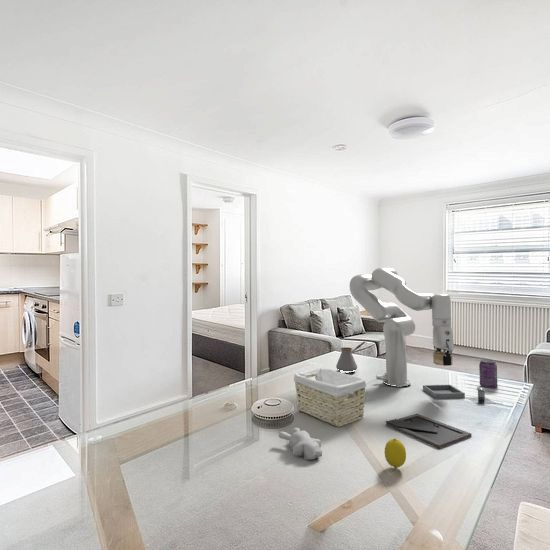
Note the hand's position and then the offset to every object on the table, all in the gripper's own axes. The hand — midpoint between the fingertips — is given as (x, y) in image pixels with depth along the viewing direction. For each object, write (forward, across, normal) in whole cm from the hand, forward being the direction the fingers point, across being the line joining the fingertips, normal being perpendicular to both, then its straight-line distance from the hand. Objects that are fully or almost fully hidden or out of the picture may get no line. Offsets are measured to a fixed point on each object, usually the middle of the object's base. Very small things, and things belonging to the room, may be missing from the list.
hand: (442, 363), depth 160 cm
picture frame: (+15, -36, +23) cm, 46 cm away
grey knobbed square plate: (+14, -10, -11) cm, 20 cm away
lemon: (+14, -60, +42) cm, 75 cm away
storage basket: (+14, -20, +53) cm, 58 cm away
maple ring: (0, 0, 0) cm, 0 cm away
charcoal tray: (+14, 0, 0) cm, 14 cm away
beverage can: (+14, +10, -26) cm, 31 cm away
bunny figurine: (+14, -48, +66) cm, 83 cm away
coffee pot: (+13, +46, +29) cm, 56 cm away
